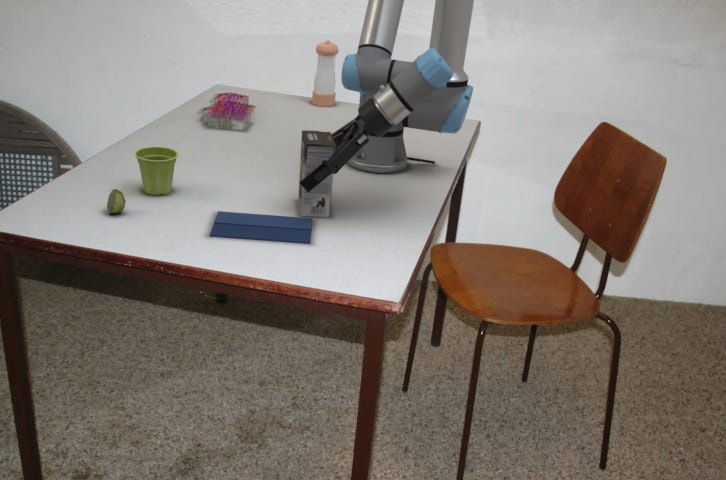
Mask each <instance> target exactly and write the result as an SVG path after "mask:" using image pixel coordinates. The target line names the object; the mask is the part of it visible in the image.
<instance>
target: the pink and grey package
mask: <svg viewBox="0 0 726 480" xmlns="http://www.w3.org/2000/svg"><path fill="white" fill-rule="evenodd" d="M249 99H250V96H249V95H246V94H241V93H236V92H231V91H230V92H229V91H228V92H220V93H219V92H218V93H215V95H213V97H211V98H210V100H209V101H208V103H209V104H211V105H210V106H204V107H201V108H200V109H199V110H198V111H197V112H196V115H199V116H200V118H199V119H200V120H201V121H202V122H205V125H207V128H212V129H223V130H229V129H230V130H235V131H237V129H239V126H238V125H239V124H242V131H246V130H247V128H248V127H249V125H250V123H251V115H252V114H253V113H254V111H255V109H256V105H254V104H249ZM235 121H236V124H235ZM232 123H233V128H231V125H232ZM219 124H220V126H219ZM234 124H235V125H234Z"/></svg>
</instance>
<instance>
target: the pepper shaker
mask: <svg viewBox="0 0 726 480" xmlns="http://www.w3.org/2000/svg"><path fill="white" fill-rule="evenodd" d="M315 52H316V54H317V63H316V71H315V76H314V83H313V86H314V87H313V91H312V97H311V103H312V104H313V105H314V106H319V107H333V106H335V105H336V90H335V89H336V67H335V66H336V56H337V55H338V54H339V52H340V51H339V47H338V45H337V44H335V43H333V42H331V40H328V39H326V40H325V41H324V42H320V43H318V44H317V45H316V47H315Z"/></svg>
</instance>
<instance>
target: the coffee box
mask: <svg viewBox="0 0 726 480" xmlns="http://www.w3.org/2000/svg"><path fill="white" fill-rule="evenodd" d="M300 143H301V144H300V161H299V179H298V180H299V181H298V199H297V200H298V207H299V211H300V215H301V216H300V217H317V218H318V217H319V218H322V217H323V218H330V215H331V204H332V194H333V193H332V192H333V181H334V173H331V174H330V175H329V176H328V177H327V178H325V179H324V180H323V181H322V182H321V183H319V184H318V185H317V186H316V187H314V188H313V189H312V190H311V191H310V192H307V191H306V190H305V189H304V188H303V187H302V185H301V184H300V181H301V180H303V179H304V178H305V177H306V176H307V175H309V174H310V173H311V172H312V171H313V170H315V169H316V168H317V167H318V166H319V165H321V164H322V160H326V161H327V160H328V159H329V158H330V157H331V156H332V154H333V153H334V152H335V147H336V144H335V142H334V139H333V137H332V132H331V131H320V130H301V142H300Z"/></svg>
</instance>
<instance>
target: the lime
mask: <svg viewBox="0 0 726 480" xmlns="http://www.w3.org/2000/svg"><path fill="white" fill-rule="evenodd" d="M125 207H126V198H125V196H124V193H123V192H122V191H121V190H119V189H117V188H113V189H112V190H111V192H110V193H109V194H108V198H107V203H106V211H107V213H108V214H111V215H113V214H115V215H116V214H119V213H120V212H122V211H124V209H125Z"/></svg>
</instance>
